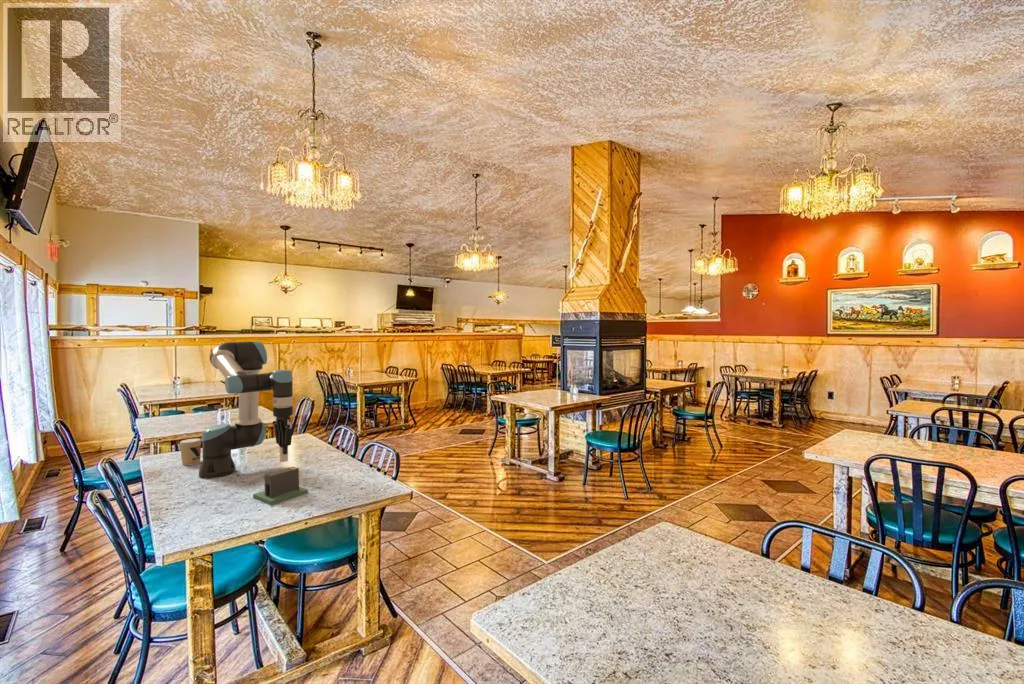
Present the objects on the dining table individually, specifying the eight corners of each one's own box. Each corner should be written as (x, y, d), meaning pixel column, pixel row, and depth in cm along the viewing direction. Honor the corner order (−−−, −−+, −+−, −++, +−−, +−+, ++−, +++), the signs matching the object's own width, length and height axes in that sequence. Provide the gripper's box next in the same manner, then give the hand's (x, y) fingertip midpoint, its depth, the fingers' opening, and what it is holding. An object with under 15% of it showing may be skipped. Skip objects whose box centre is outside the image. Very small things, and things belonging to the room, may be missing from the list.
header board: (253, 497, 191) (252, 484, 190) (290, 486, 204) (290, 474, 203) (270, 505, 183) (270, 491, 182) (307, 493, 196) (307, 480, 195)
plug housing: (264, 495, 189) (264, 473, 189) (292, 486, 199) (292, 466, 198) (271, 497, 186) (270, 475, 186) (299, 489, 196) (298, 468, 196)
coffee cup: (193, 465, 236) (193, 442, 236) (175, 465, 236) (175, 442, 236) (206, 460, 245) (205, 438, 245) (188, 460, 245) (188, 438, 245)
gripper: (266, 405, 194) (267, 460, 195) (282, 409, 186) (283, 466, 188) (283, 403, 200) (284, 456, 201) (299, 406, 193) (300, 461, 194)
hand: (283, 461), depth 194 cm, fingers closed
